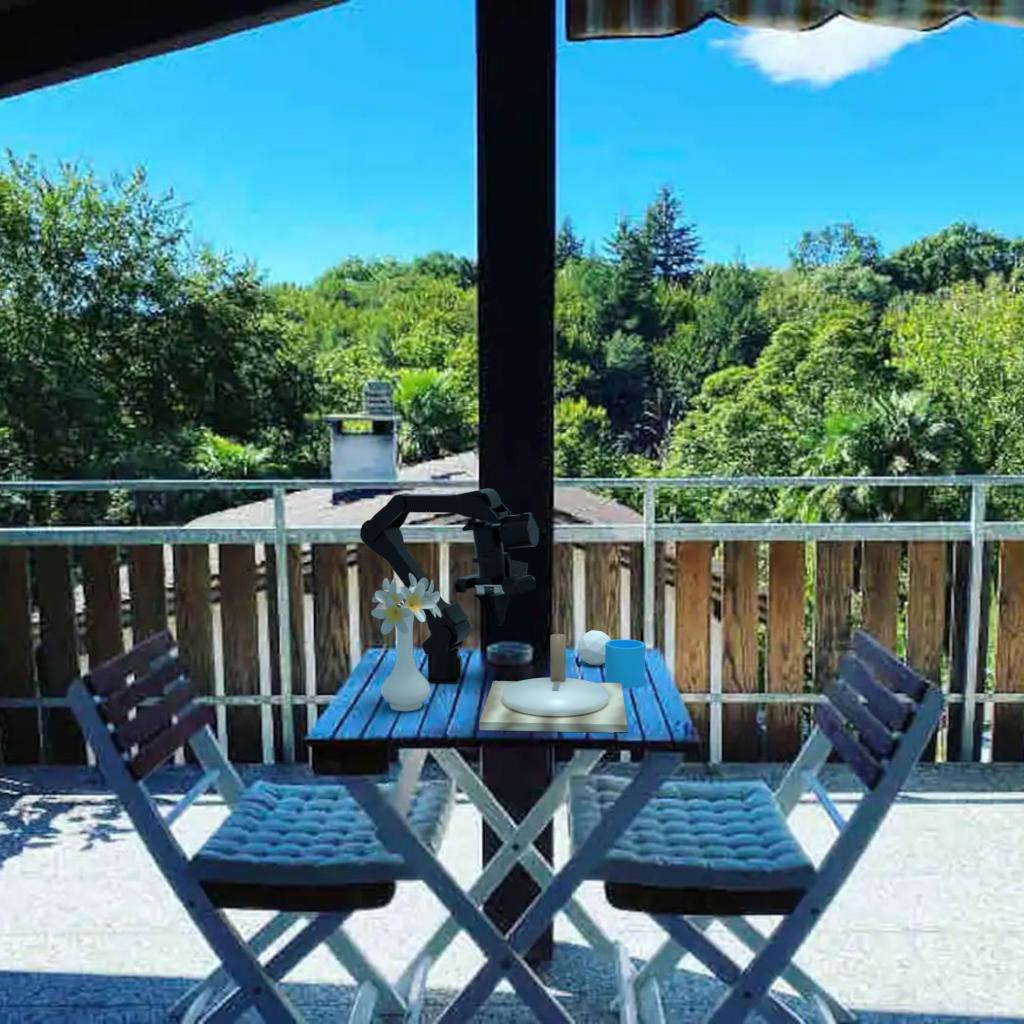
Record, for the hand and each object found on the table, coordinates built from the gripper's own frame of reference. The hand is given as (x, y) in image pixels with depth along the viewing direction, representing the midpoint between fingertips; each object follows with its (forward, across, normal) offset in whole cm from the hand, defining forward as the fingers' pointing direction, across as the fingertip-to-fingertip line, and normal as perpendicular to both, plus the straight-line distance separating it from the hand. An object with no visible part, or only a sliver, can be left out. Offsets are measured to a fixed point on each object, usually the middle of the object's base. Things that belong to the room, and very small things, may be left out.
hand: (500, 625), depth 199 cm
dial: (+12, -18, +5) cm, 22 cm away
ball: (+15, -2, -25) cm, 29 cm away
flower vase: (+11, +3, +24) cm, 27 cm away
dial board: (+14, -18, +5) cm, 23 cm away
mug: (+16, -14, -20) cm, 29 cm away
